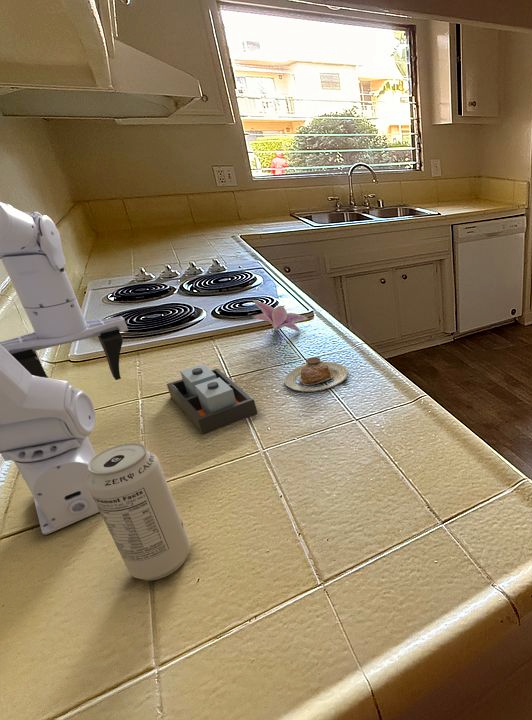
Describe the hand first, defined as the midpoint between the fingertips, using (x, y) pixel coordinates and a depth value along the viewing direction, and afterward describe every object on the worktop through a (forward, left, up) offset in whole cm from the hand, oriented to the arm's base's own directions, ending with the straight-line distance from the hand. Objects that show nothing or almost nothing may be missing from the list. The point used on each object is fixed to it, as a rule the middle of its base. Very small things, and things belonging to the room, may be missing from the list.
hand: (86, 386), depth 71 cm
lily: (+19, -38, -10) cm, 44 cm away
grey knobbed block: (-7, -15, -9) cm, 19 cm away
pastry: (-7, -33, -10) cm, 35 cm away
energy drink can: (-34, +1, -10) cm, 35 cm away
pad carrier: (-3, -15, -9) cm, 18 cm away
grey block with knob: (+1, -15, -9) cm, 17 cm away
